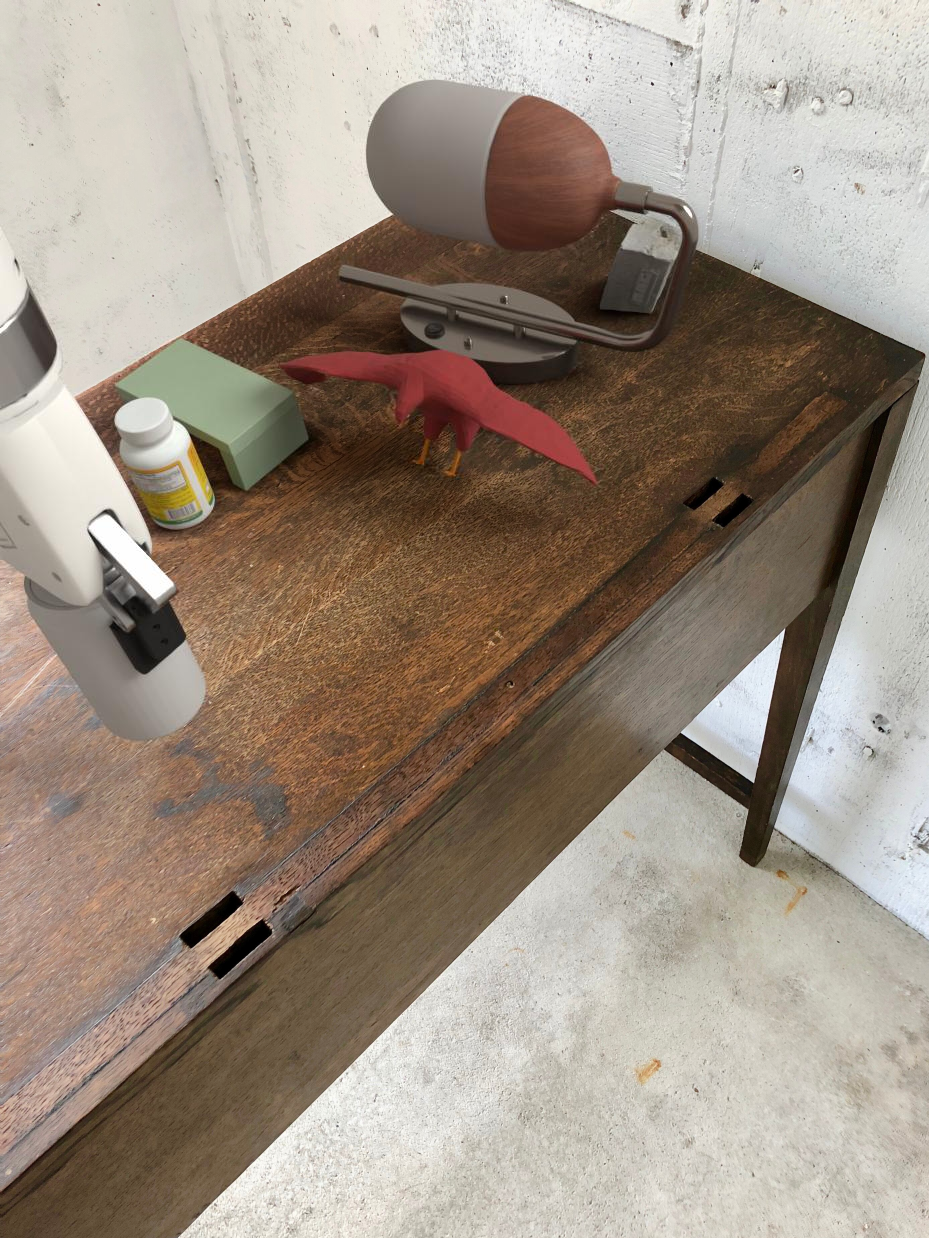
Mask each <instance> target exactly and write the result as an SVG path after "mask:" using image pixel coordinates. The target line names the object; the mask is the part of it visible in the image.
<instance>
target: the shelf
mask: <svg viewBox="0 0 929 1238" xmlns="http://www.w3.org/2000/svg"><path fill="white" fill-rule="evenodd" d="M113 386H114V388H115V390H116V392H117V395H118V396H119V398H120V401H121V403H122V405H123V406H124V405H125V404H127V403H129V402H130V401H133V400H136V399H139V398H156V399H159V400H162V401H163V402H164V403H165V404H166V405H167V407H168V409H169V411H170V413H171V415H172V417H173V420H175V421H177V422H179V423H180V424H181V425H183V426H184V427H185V428H186V430H187V431H188V433H189V435H191V436H194V437H196V438H198V439H199V440H202V441H203V442H205V443H207V444H209V445H211V446H213V447H215V448H216V449H219V453H220V455H221V457H222V460H223V462H224V464H225V468H226V471H227V472H228V474H229V477H230V480H231V482H232V484H233V485H234V486H236V487H238V488H240V489H242V490H244V491H245V492H247V491H248V490H250V489H251V488H252V487H253V486H254V485H256V484H257V483H258V482H260V481H261V479H263V478H264V477H265V476H266V475H268V474H269V473H270V472H271V471H272V470H273V469H275V468H276V467H277V466H278V465H279V464H281V463H282V462H283V461H285V460H286V458H288V457H289V456H290V455H291V454H292V453H294V452H295V451H296V450H298V449H299V448H300V447H301V446H302V445H303V444H304V443H306V442H307V441H308V440H309V439H310V438H309V435H308V432H307V428H306V425H305V422H304V418H303V415H302V411H301V407H300V405H299V402H298V399H297V396H296V392H295V391H294V390H292V389H290V388H287V387H285V386H284V385H281V384H279V383H278V382H277V383H276V382H275V381H273V380H271V379H269V378H266V377H265V376H262V375H260V374H258V373H256V372H254V371H252V370H249V369H247V368H246V367H243V366H241V365H239V364H237V363H235V362H232V361H230V360H228V359H226V358H224V357H222V356H220V355H218V354H216V353H213V352H211V351H209V350H208V349H205V348H203V347H201V346H199V345H196V344H194V343H192V342H191V341H188V340H186V339H184V338H182V337H180V338H178V339H177V340H175V341H174V342H172V343H171V344H170V345H168V346H166V347H165V348H164V349H163V350H161V351H160V352H158V353H157V354H155V356H153V357H152V358H150V359H149V360H147V361H146V362H144V363H143V364H142V365H140V366H139V367H138V368H135V369H134V370H133V371H131V372H130V373H129V374H127V375H126V376H125V377H123V378H122V379H120V380H119V381H118V382H116V383H114V385H113Z"/></svg>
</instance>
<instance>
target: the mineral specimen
mask: <svg viewBox="0 0 929 1238" xmlns="http://www.w3.org/2000/svg"><path fill="white" fill-rule="evenodd" d="M681 242H682V231H681V230H680V231H679V229H678V228H677V227H676V226H673V225H671V224H670V223H668V222H666V221H664V220H662V219H659V218H657V217H655V216H652V215H651V216H648V217H647V218H644V220H641V221H640V222H639V223H633V224H632V225H631V226H630V227H629V228H628V231H627V232H626V234H625V237H624V238H623V240H622V242H621V243H620V245H619V247H618V251H617V252H616V253H615V257H614V260H613V263H612V264H611V267H610V269H609V273H608V275H607V280H606V282H605V286H604V290H603V294H602V296H601V300H600V304H599V309H600V310H612V311H620V312H632V313H633V312H634V313H641V314H642V313H644V314H652V313H653V311H654V309H655V307H656V304H657V302H658V300H659V298H660V297H661V295H662V293H663V290H664V287H665V286H666V283H667V279H668V277H669V276H670V274H671V271H672V268H673V267H674V265H675V262H676V259H677V255H678V252H679V249H680V245H681Z"/></svg>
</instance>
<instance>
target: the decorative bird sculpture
mask: <svg viewBox="0 0 929 1238" xmlns="http://www.w3.org/2000/svg"><path fill="white" fill-rule="evenodd" d="M278 367H279V368H280V369H281V370H282V371H284V373H285V374H286V376H289V377H290V378H291V379H293V380H295V381H297V382H299V383H301V384H303V385H306V386H307V385H313V384H316V383H323V382H327V381H329V378H328V377H334V378H340V379H344V380H349V381H364V382H368V383H372V384H373V383H374V384H381V385H385V386H387V387H390V388H392V389H394V390H395V391H397V392H398V393H397V399H396V404H395V407H394V417H395V421H396V422H397V424H398V426H399V427H402V425H403V424H404V422H405V421H406V419H407V417H409V415H410V414H411V413H412V412H413V411H414V410H416V409H417V410H419V411H421V412H423V423H422V433H423V436H424V438H425V441H424V444H423V448H422V451H421V455H420V457H419V459H412V460H411V461H410V463H412V462H413V463H414V465H422V467H423V468H424V469H426V463H425V459H426V457H427V453H428V449H429V446H430V443H431V442H435V441H437V440H438V439H439V438H440V436H441V435H442V432H443V431H444V430H445V427H446V426H447V425H449V424H450V425H451V427H452V428H453V429H454V432H455V433H456V438H455V446H456V452H455V455H454V460H453V461H452V465H451V468H450V470H449V471H446V470H443V471H442V472H441V473H440V474H445V476H446V477H448V476H452V477H453V478H454V479H455V480H457V475H456V470H457V468H458V465H459V464H458V463H459V460H460V458H461V455H462V453H464V452H466V451H468V450H469V449H470V448H471V446H472V445H473V442H474V439H475V437H476V435H477V433H478V431H479V429H480V428H482V429H484V430H485V431H489V432H492V433H495V434H497V435H500V436H502V437H504V438H506V439H509V440H511V441H513V442H514V443H517V444H518V445H520V446H521V447H523V448H525V449H527V450H529V451H531V452H535V453H536V454H539V455H541V456H543V457H544V458H546V459H548V460H549V461H552V462H554V463H556V464H558V465H560V466H561V467H565V468H567V469H569V470H571V471H573V472H574V473H575V472H576V473H577V474H579V475H581V476H582V477H583V478H585V479H586V481H588V482H589V483H591V484H592V485H594V486H595V487H598V486H599V484H598V481H597V478H596V476H595V475H594V472H593V471H592V469H591V467H590V465H589V463H588V461H587V460H586V459H585V457H584V456H583V454H582V453H581V451H580V450H579V448H578V447H577V446H576V443H575V442H574V440H573V439H572V438H571V437H570V436H569V434H568V432H567V431H566V430H565V429H564V428H563V427H562V426H561V425H560V423H558V422H556V421H555V419H553V418H552V417H551V416H550V415H548V414H546V413H545V412H543V411H541V410H539V409H538V408H534V407H532V406H531V405H530V404H529V403H527V402H525V401H521V400H519V399H516V398H514V397H512V395H510V394H509V393H507V392H505V391H503V390H501V389H499V388H498V386H496V385H495V383H493V382H492V381H491V379H490V378H489V376H488V375H487V373H486V372H485V370H484V369H483V368H482V367H481V366H479V365H478V364H477V363H476V362H475V361H474V360H472V359H471V358H470V357H468V356H462V355H460V354H457V353H455V352H451V351H446V350H433V351H427V352H421V353H414V352H405V353H397V354H396V353H392V354H382V353H375V352H371V351H363V352H362V351H351V350H344V351H336V352H329V353H328V352H327V353H321V354H318V355H305V356H302V357H298V358H294V359H292V360H289V361H287V362H284V363H281V364H279V365H278Z"/></svg>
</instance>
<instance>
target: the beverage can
mask: <svg viewBox="0 0 929 1238" xmlns="http://www.w3.org/2000/svg"><path fill="white" fill-rule="evenodd" d="M101 556H102V564H103V565H104V564H105V563H106V562H108V561H107V559H106V558H105V557H104V556H103V555H102V554H101ZM108 588H109V589H110V590H111V592H112V593H113V594H114V595H115V597H116V598H117V599H118V600H119V602H120V603H121V604H122V605H123V604H124V603H125V602H127V601H128V600H129V599H130V598H131V597H133V596H134V595H135V594H136V592H135V590H134V588H133V587H132V586H131V585H130V584H129V583H128V582H127V580H126V579H125V578H124V577H123V576H120V577H119V578H118V579H117V580H115V581H114V582H113V583H112V584H110V585H109V586H108ZM23 589H24V593H25V594H26V596H27V600H26V604H27V609H28V612H29V615H30V617H31V618H32V619H33V621H34V623H35V624H36V626H37V627H38V629H39V630H40V632H41V633H42V635H43V636H44V638H45V639H46V640H47V642H48V643H49V645H50V646H51V648H52V649H53V650H54V652H55V654H56V655H57V657H58V658H59V660H60V662H61V663H62V665H63V666H64V667H65V668H66V670H67V671H68V673H69V675H70V676H71V678H72V679H73V680H74V682H75V683H76V685H77V686H78V688H79V690H80V691H81V693H82V694H83V696H84V697H85V699H86V700H87V701H88V703H89V704H90V706H91V707H92V709H93V710H94V712H95V713H96V715H97V716H98V718H99V719H100V721H101V723H102V724H103V725H104V726H105V728H106V729H107V730H108V731H109V732H110V733H112V734H113V735H115V736H116V737H119V738H121V739H124V740H128V741H133V742H146V741H147V742H148V741H153V740H157V739H160V738H165V737H167V736H169V735H171V734H173V733H176V732H177V731H179V730H180V729H182V728H183V727H184V726H185V725H187V724H188V723H189V722H191V720H193V718H194V717H195V716H196V715H197V714H198V712H199V711H200V709H201V706H202V705H203V704H204V700H205V697H206V692H207V683H206V678H205V675H204V674H203V671H202V669H201V667H200V665H199V663H198V661H197V659H196V657H195V655H194V653H193V651H192V649H191V647H190V644H189V642H188V640H187V639H186V640H185V641H184V642H183V643H182V644H181V645H180V646H179V647H178V648H177V649H176V650H174V651H173V652H172V653H171V654H170V655H169V656H168V657H167V658H165V659H164V660H163V661H162V662H161V663H159V664H158V665H157V666H156V667H155V668H154V669H153V670H151V671H150V672H149V673H148V674H145V675H143V674H141V673H140V672H138V671H137V670H136V669H135V668H134V667H133V665H132V663H131V662H130V660H129V658H128V657H127V655H126V654H125V652H124V650H123V649H122V647H121V645H120V644H119V642H118V640H117V639H116V637H115V636H114V634H113V632H112V631H111V629H110V627H109V626H110V625H111V624H112V622H113V621H114V620H113V619H112V618H111V617H110V615H109V614H108V613H107V612H106V611H105V609H104V608H103V607H102V606H101V604H100V603H99V602H98V601H97V599H95V600H93V601H92V603H91V604H89V605H88V606H78V605H73V604H69V603H67V602H65V601H63V600H61V599H60V598H58V597H56V596H55V595H53V594H52V593H50V592H49V591H47V590H46V589H44V588H43V587H41V586H40V585H38V584H37V583H35V582H34V581H32V580H31V579H29V578H28V577H27V576H25V575H24V578H23Z"/></svg>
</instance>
